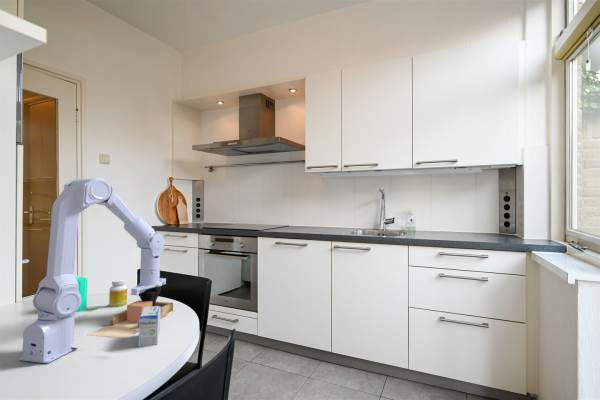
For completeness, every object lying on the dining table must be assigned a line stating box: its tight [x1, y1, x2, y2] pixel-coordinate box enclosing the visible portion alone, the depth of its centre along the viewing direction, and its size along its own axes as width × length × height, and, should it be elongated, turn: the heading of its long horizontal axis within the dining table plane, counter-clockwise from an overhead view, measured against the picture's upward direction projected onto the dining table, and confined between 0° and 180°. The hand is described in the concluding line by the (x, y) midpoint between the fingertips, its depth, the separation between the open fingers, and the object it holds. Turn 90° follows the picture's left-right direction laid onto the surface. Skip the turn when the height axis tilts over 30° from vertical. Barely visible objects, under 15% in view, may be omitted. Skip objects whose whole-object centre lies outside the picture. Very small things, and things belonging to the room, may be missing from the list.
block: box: [126, 299, 152, 323], centre depth 96 cm, size 5×5×5 cm
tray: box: [87, 301, 175, 340], centre depth 94 cm, size 23×12×4 cm, turn 170°
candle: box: [74, 276, 88, 313], centre depth 107 cm, size 6×6×12 cm
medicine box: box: [138, 306, 161, 348], centre depth 82 cm, size 8×4×9 cm, turn 21°
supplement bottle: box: [108, 278, 128, 308], centre depth 109 cm, size 5×5×10 cm
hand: (148, 311), depth 100 cm, fingers closed
